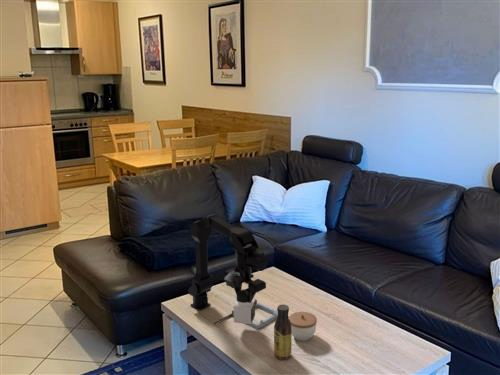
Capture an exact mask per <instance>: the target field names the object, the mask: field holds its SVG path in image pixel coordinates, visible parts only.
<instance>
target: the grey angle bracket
mask: <svg viewBox="0 0 500 375" xmlns="http://www.w3.org/2000/svg"><path fill="white" fill-rule="evenodd" d="M256 306H257V308H259V309H261V310H263V311H265V312H268V313H269V314H272V315H270V316H269V317H267V318H264V319H259V321H260V322H258V323H257V322H255V321H253V322H252V324H247V325H248V326H251V328H254V329H256V330H257V329H260V328H262V327H264V326H265V325H267V324H268V323H271V322H273V320H277V317H278V311H277V310H275V309H274V308H271V307H269V306H267V305H264V304H263V303H260V302H257V305H256Z"/></svg>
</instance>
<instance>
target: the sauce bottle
mask: <svg viewBox="0 0 500 375" xmlns="http://www.w3.org/2000/svg"><path fill="white" fill-rule="evenodd" d="M276 309H277V310H276V311H278V317H277V318H276V319H275V320H276V321H275V323H274V325H273V326H274V327H273V353H274V357H275V358H276V359H277V360H279V361H282V360H283V361H285V360H289V359H290V358H291V355H292V344H293V343H292V337H293V335H292V330H291V322H290V320H289V311H290V306H289V305H287V304H279V305H278V306H277V308H276Z"/></svg>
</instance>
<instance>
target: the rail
mask: <svg viewBox="0 0 500 375" xmlns="http://www.w3.org/2000/svg"><path fill="white" fill-rule="evenodd" d="M230 317H233V316H232V312H231V313H228V314H227V315H225V316H224V317H222V318H220V319H218V320H216V321H214V323H213V324H214V325H216V324H218V323H220V322H222V321H224V320H225V321H226V319H228V318H230Z"/></svg>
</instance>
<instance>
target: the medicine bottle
mask: <svg viewBox="0 0 500 375" xmlns="http://www.w3.org/2000/svg"><path fill="white" fill-rule="evenodd" d="M245 289H246V288H241V290H239V291H237V293H236V292H235V295H236V301H235V302H234V304H233V310H234V316H233V323H236V324H237V323H238V324H244V325H245V324H246V325H248V324H252V322H254V319H255V316H256V305H255V298H253V300H252V302H251V303H249V301H248V292H247V291H246V290H245Z"/></svg>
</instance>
